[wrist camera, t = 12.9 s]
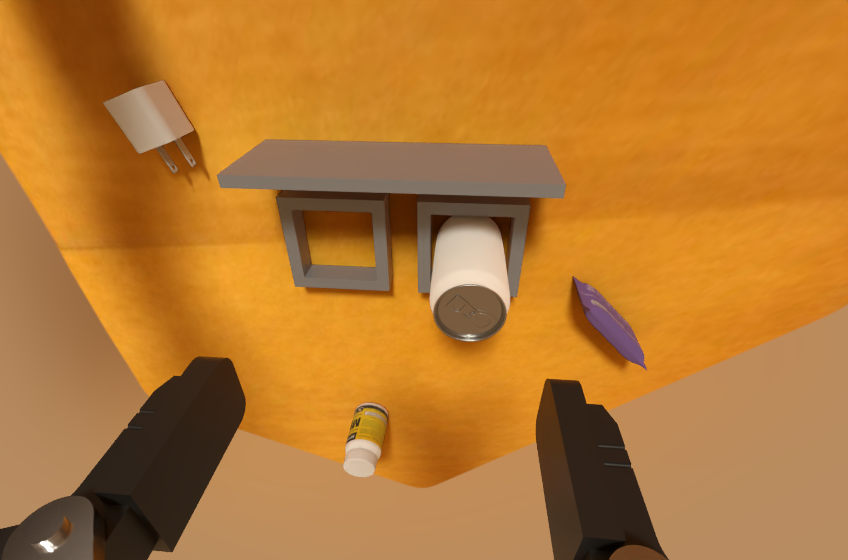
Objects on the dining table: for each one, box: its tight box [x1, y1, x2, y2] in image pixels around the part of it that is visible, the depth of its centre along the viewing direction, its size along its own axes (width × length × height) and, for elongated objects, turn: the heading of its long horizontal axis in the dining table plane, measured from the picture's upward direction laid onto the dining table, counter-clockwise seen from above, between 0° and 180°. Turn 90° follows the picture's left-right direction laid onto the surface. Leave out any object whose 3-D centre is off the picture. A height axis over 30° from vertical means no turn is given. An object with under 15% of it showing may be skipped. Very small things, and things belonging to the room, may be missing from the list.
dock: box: [217, 139, 566, 297], centre depth 38 cm, size 25×14×9 cm, turn 90°
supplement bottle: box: [343, 403, 388, 477], centre depth 55 cm, size 5×5×8 cm
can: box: [430, 215, 510, 342], centre depth 37 cm, size 6×6×12 cm
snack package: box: [573, 276, 647, 370], centre depth 44 cm, size 12×2×5 cm, turn 45°
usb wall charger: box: [103, 80, 196, 173], centre depth 37 cm, size 4×7×4 cm, turn 19°
